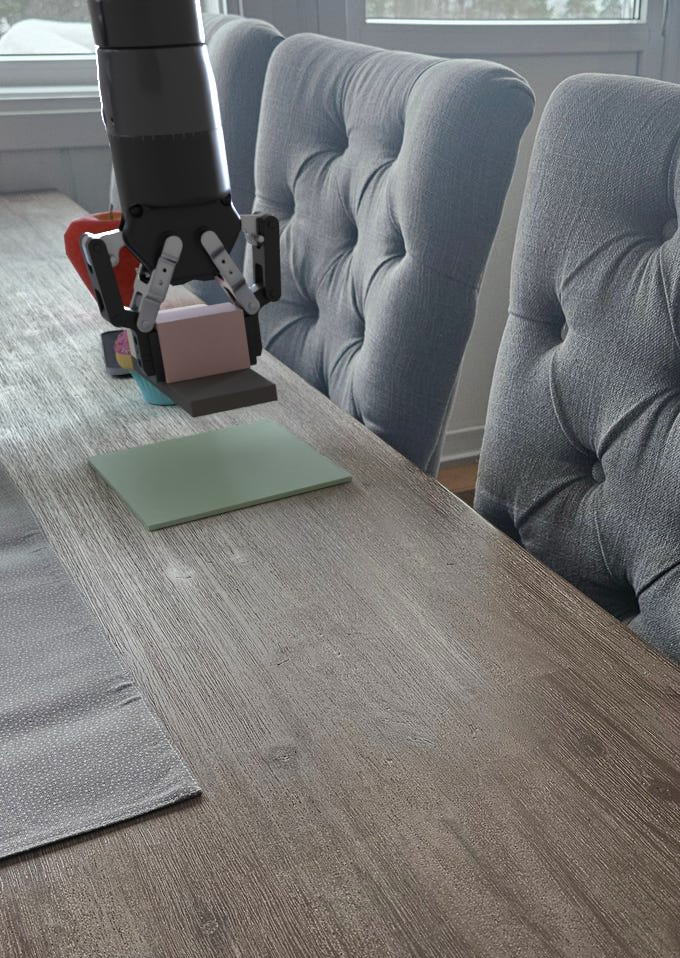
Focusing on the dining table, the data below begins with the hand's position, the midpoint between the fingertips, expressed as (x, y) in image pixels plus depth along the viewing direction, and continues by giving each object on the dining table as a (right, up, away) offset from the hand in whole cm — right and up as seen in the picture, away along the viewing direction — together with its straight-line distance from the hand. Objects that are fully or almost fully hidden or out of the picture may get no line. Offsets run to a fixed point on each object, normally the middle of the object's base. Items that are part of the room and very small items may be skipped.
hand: (203, 370), depth 83 cm
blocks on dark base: (0, -1, +1) cm, 2 cm away
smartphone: (-15, +10, +33) cm, 37 cm away
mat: (0, -7, +5) cm, 8 cm away
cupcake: (-8, +3, +21) cm, 23 cm away
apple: (-20, +19, +47) cm, 54 cm away
